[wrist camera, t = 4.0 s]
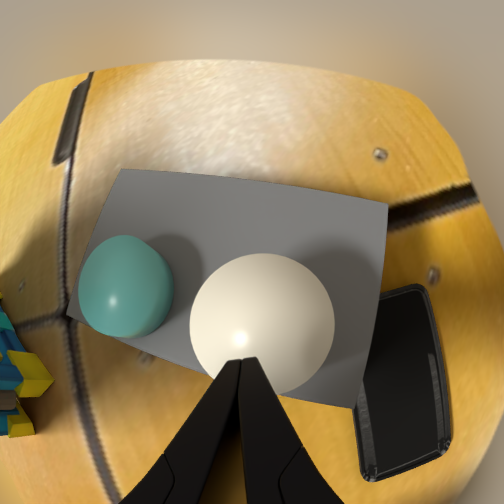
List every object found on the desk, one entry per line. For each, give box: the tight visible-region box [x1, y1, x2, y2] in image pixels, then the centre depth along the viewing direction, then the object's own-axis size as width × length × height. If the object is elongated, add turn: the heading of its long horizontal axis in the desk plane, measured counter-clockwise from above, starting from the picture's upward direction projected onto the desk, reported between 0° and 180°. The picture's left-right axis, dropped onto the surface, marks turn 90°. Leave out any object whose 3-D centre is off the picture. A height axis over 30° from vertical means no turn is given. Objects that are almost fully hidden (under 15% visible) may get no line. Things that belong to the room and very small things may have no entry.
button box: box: [66, 169, 388, 409], centre depth 19 cm, size 11×18×8 cm, turn 75°
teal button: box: [78, 235, 174, 338], centre depth 16 cm, size 5×5×5 cm
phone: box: [352, 284, 451, 482], centre depth 17 cm, size 8×1×15 cm
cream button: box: [190, 253, 335, 395], centre depth 12 cm, size 5×5×5 cm
